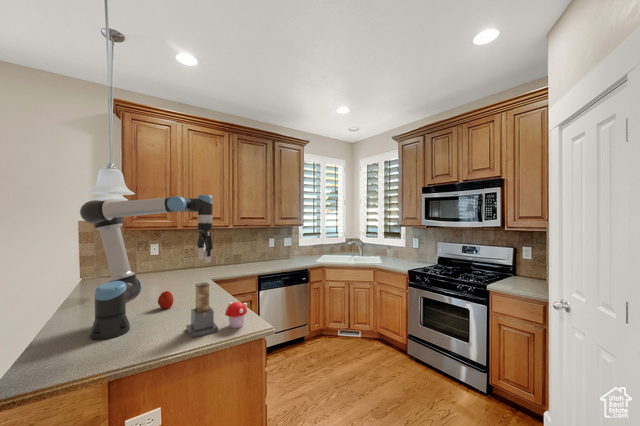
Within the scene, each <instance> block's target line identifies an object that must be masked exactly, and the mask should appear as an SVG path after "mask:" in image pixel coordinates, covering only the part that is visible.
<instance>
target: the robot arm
mask: <svg viewBox="0 0 640 426" xmlns="http://www.w3.org/2000/svg"><path fill="white" fill-rule="evenodd" d="M213 205H214V203H213V196H212V195H210V194H199V195H198V196H197V198H196V197H195V198H190V197H183V196H180V195H174V196H169V197H156V198H147V199H134V200H133V199H132V200H122V201H112V200H111V201H110V200H108V199H107V200H97V199H95V200H89V201H87V202H85V203H84V204H83V205H82V206H81V207H80V209H79V215H80V217H81V218H82V220H84V221H85V222H86V223H89V224H92V225H94V228H95V230H96V231H99V233H100V237H101V240H102V244H103V245H102V246H103V249H104V252H105V257H106V260H107V264H108V265H107V266H108V268H109V273H110V277H109V279H108V282H104V283H101V284H100V285H98V286H97V287H96V288H95V291H94V292H95V293H94V321H93V324H92V326H91V329H90V331H89V338H90V340H96V341H101V340H109V339H112V338H116V337H119V336H122V335H124V334H127V333H128V332H129V331H130V329H131V324H130V322H129V319H128V317H127V316H128V315H126V313H127V312H126V307H127V305H126V304H128V303H129V302H132V301H134V300H135V299H136V298H137V297H138V296H139V295H140V293H141V292H142V289H143V284H142V281H141V280H140V279H138V277H137V276H136V273H135V272H134V271H132V270H131V266H130V262H129V258H128V253H127V250H126V246H125V242H124V238H123V233H122V229H121V227H122V226H123V224H124V222H123V218H126V217H134V216H135V217H136V216H144V215H155V214H165V213H175V212H176V213H178V212H179V213H189V212H190V213H197V230H198V240H197V244H196V245H197V247H198V257H197V258H198V260H205V261H204V262H205V264H207V263H208V264H209V263H212V250H213V249H214V248H213V242H212V232H211V230H213V223H212V222H213V219H214V216H213V207H214V206H213ZM204 255H205V256H204ZM204 257H205V259H204Z"/></svg>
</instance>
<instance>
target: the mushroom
mask: <svg viewBox="0 0 640 426" xmlns="http://www.w3.org/2000/svg"><path fill="white" fill-rule="evenodd" d="M227 305H228V306H227V307H226V310H225V313H224V315H226V316H227V317H228V322H229V328H231V329H239V328H242V327H243V326H244V323H245V315H246V314H247V313H248V309H247V308H248V303H247V302H243V303H242V302H241V301H237V302H232V301H230V302H228V304H227Z"/></svg>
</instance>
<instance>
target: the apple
mask: <svg viewBox="0 0 640 426" xmlns="http://www.w3.org/2000/svg"><path fill="white" fill-rule="evenodd" d="M157 304H158V306H159V308H161V309H164V310H168V309H171V308H172V306H173V304H174V295H173V294H172V292H171V291H168V290H166V291H162V293H160V295H159V296H158V299H157Z"/></svg>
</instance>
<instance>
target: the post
mask: <svg viewBox="0 0 640 426" xmlns="http://www.w3.org/2000/svg"><path fill="white" fill-rule="evenodd" d="M209 306H210V283H208V282H205V281H204V282H200V283H195V308H196V313H200V312H205V311H209Z"/></svg>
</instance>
